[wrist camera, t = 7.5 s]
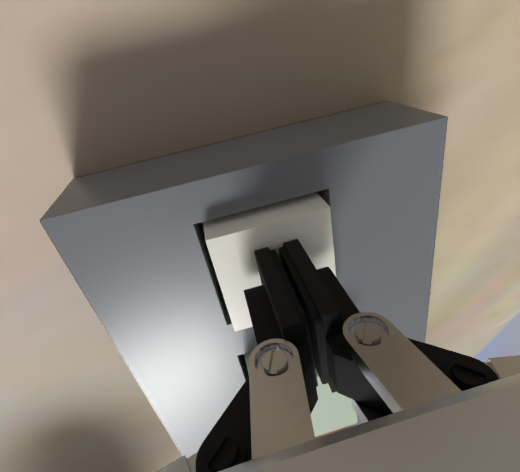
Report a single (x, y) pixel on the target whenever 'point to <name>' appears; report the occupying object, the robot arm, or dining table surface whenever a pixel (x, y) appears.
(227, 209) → the grey button panel
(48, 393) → the dining table surface
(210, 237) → the key cream
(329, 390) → the key sage
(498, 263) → the dining table surface
